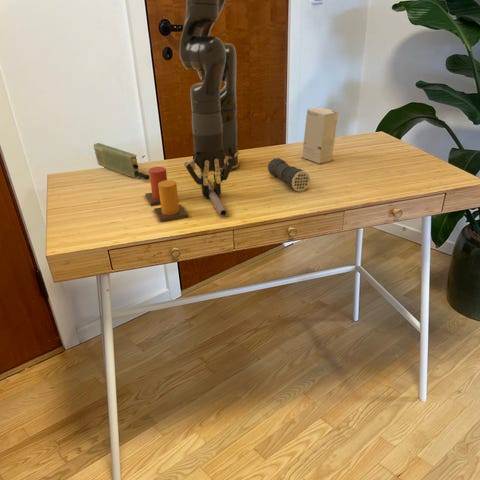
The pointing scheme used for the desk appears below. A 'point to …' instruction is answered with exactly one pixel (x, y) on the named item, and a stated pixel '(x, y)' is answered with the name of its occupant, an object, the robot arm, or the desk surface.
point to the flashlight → (289, 174)
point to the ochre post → (169, 202)
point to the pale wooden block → (319, 134)
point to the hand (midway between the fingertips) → (211, 196)
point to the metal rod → (216, 201)
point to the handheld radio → (118, 160)
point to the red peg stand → (155, 184)
